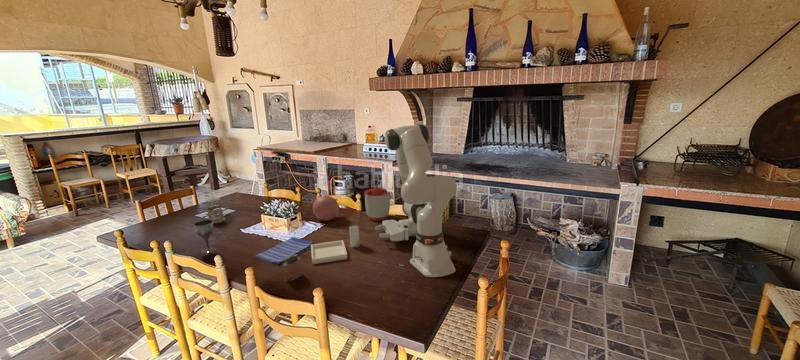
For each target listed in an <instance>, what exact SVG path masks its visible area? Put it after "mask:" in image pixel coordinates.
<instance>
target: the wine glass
mask: <svg viewBox="0 0 800 360" xmlns="http://www.w3.org/2000/svg"><path fill="white" fill-rule="evenodd" d="M193 226H194V230H195V233H196V234H197V236H198V237H200V238H202V239H203V240H204V242H205V244H206V247H205V248H203V249H201V250H200V254H202V255H203V254H204V255H205V254H211V253H213V252H215V251H216V250H217V247H215V246H210V245H209V239H210V237H211V235H212V234H213V233H214V223H213V221H212V220H209V219H202V220H198V221H196V222H194V225H193Z"/></svg>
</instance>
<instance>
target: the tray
mask: <svg viewBox="0 0 800 360" xmlns="http://www.w3.org/2000/svg"><path fill="white" fill-rule="evenodd" d="M310 249H311V250H310V251H311V264H312V265H316V264H317V265H318V264H323V263H329V262H335V261H343V260H348V252H347V248H346V245H345V242H344V240H343V239H342V240H335V241H334V240H333V241H328V242H320V243H319V242H318V243H314V244H312V245H311V248H310Z"/></svg>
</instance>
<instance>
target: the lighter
mask: <svg viewBox="0 0 800 360" xmlns="http://www.w3.org/2000/svg"><path fill="white" fill-rule="evenodd" d="M282 267H283V275H284V282H285V283H289V282H291V281H294V280H296V279H298V278H300V277H302V276H303V272H302V258H301V257H299V255H297V254H295V255H290V257H288V258H285V259H284V263H282Z"/></svg>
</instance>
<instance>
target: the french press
mask: <svg viewBox="0 0 800 360" xmlns="http://www.w3.org/2000/svg"><path fill="white" fill-rule="evenodd" d="M212 183H213V182H211V181H208V183H207V184H208V185H209V187H210V189H212V187H211V185H212ZM210 192H211V195H213V191H210ZM220 199H221V198H220V197H218V196H211V197H209V198H207V199H205V200H204V201H205V203H207V204H208V203H209V204H210V203H212V204H210V205H208V206H207V208H206V209H207V211H206V212H207V216H208V220H212V221H213V224H218V223H222V222H224V221H225V220H226V218H225V217H224V214H223V213H224V212H225V211H226V209H227V204H226V202H225V201H222V200H220ZM218 201H219V203H215V202H218ZM214 203H215V204H214ZM221 204H224V210H223V209H222V206H221ZM222 210H223V211H222Z"/></svg>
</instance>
